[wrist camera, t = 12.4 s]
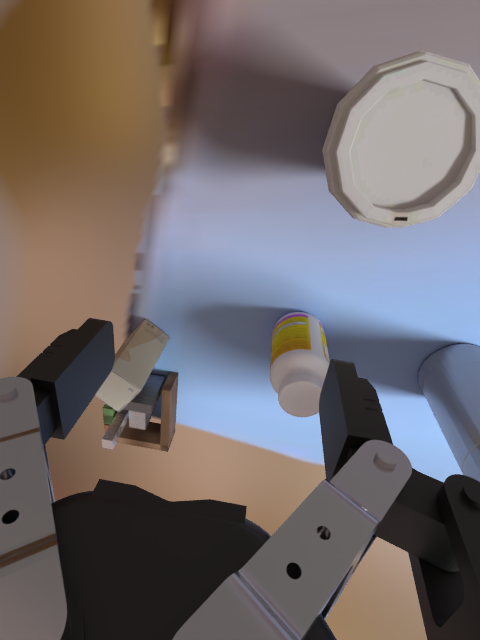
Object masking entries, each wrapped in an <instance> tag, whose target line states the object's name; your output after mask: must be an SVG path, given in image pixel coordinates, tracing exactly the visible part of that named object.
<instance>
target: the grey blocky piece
mask: <svg viewBox="0 0 480 640" xmlns="http://www.w3.org/2000/svg"><path fill="white" fill-rule="evenodd" d="M164 384H165V377H163V376H157V375H152V374H150V375H149V377H148V379H147V381H146V383H145V384H144V386H143V388H142V390H141V391H140V392H139V393H138V394H137V395H136V396H135V397H134V398H133V399H132V400H131V401H130V402H129V403H128V404H127V405H126V406H125V407H124V408H123V409H122V410H121V411H119V412H117V414H116V415H115V417H114V419H113V421H112V422H111V424H110V426H109V428H108V429H107V431H106V433H105V435H104V436H103V438H102V446H103V448H108V449H113V448H114V446H115V444H116V442H117V440H118V438H119V437H120V435H121V433H122V431H123V429H124V427H125V425H126V423H127V421H128V419H129V427H132V428H138V429H143V430H146V428H147V425H148V423H149V421H150V419H151V414H152V412H153V410H154V407H155V405H156V403H157V401H158V399H159V397H160V394H161V392H162V388H163V386H164Z"/></svg>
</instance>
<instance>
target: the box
mask: <svg viewBox="0 0 480 640" xmlns="http://www.w3.org/2000/svg"><path fill="white" fill-rule="evenodd" d="M168 340H169V336H167V335H166V334H165V333H164V332H163V331H161V330H160V329H159V328H157V327H156V326H155V325H153V324H152V323H151V322H149V321H148V320H147V319H144V320H143V321H142V322H141V323H140V325H139V326H138V327H137V328H136V329H135V330H134V331H133V332H132V333H131V335H130V336H129V337H128V338H127V339H126V340H125V342H124V343H123V345H122V346H121V347H120V349H119V350H118V352H117V353H116V354H115V360H114V365H113V368H112V371H111V373H110V374H109V376H108V377H107V378H106V380H105V381H104V383H103V384H102V386H101V387H100V389H99V390H98V391H97V393H96V394H95V396H96V397H98V398H99V399H100V400H102V401H103V402H105V403H106V404H107V405H109V406H110V407H112V408H113V409H115V410H116V411H118V412H119V411H121V410H122V409H123V408H124V407H125V406H126V405H127V404H128V403H129V402H130V401H131V400H132V399H133V398H134V397H135V396H136V395H137V394H138V393H139V392H140V391H141V390H142V388H143V386H144V384H145V383H146V381H147V379H148V377H149V375H150V373H151V371H152V370H153V368H154V366H155V364H156V362H157V360H158V358H159V357H160V355H161V353H162V351H163V349H164V347H165V345H166V343H167V341H168Z"/></svg>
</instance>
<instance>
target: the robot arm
mask: <svg viewBox="0 0 480 640" xmlns="http://www.w3.org/2000/svg"><path fill="white" fill-rule="evenodd" d="M114 360H115V351H114V334H113V325H112V322H110V321H105V320H99V319H92V318H89V319H88V320H87V321H86V322H85V323H84V324H83V325H82V326H81V327H80V328H79V329H78V330H76V329H72V330H70V331H67V332H66V333H63V334H61V335H59V336H58V337H57V338H56V339H55V340H54V341H53V342H52V343H51V344H50V346H48V347H47V348H46V349H45V350H44V351H43V353H41V354H40V355H39V356H38V357H36V359H34V360H33V361H32V362H31V363H30V364H29V365H28V366H27V367H26V368H25V369H24V370H23V371H22V372H21V373H20V374H19V375H18V376H17V377H7V378H2V379H0V640H336V638H335V636H334V635H333V633H332V631H331V630H330V628H329V626H328V625H327V623H326V621H325V619H326V617H327V616H328V614H329V613H330V611H331V609H332V608H333V606H334V605H335V603H336V601H337V600H338V598H339V596H340V594H341V593H342V591H343V590H344V588H345V586H346V585H347V583H348V581H349V580H350V578H351V577H352V575H353V573H354V572H355V570H356V569H357V567H358V565H359V564H360V562H361V561H362V559H363V558H364V556H365V554H366V553H367V551H368V550H369V548H370V547H371V545H372V543H373V542H374V540H375V539H376V537H379V538H381V539H383V540H385V541H387V542H389V543H391V544H393V545H395V546H397V547H399V548H401V549H403V550H405V551H407V552H408V553H409V558H410V562H411V567H412V571H413V576H414V580H415V585H416V590H417V594H418V599H419V603H420V608H421V612H422V617H423V622H424V626H425V631H426V635H427V640H480V347H479V346H476V345H471V344H456V345H451V346H448V347H444V348H442V349H440V350H438V351H436V352H434V353H433V354H432V355H430V356H429V357H428V358H427V359H426V360H425V361H424V363H423V364H422V366H421V367H420V370H419V373H418V381H419V385H420V387H421V389H422V391H423V393H424V395H425V397H426V399H427V401H428V403H429V406H430V408H431V410H432V412H433V414H434V416H435V418H436V420H437V422H438V424H439V426H440V428H441V430H442V432H443V434H444V436H445V438H446V441H447V443H448V445H449V447H450V449H451V451H452V453H453V455H454V457H455V459H456V461H457V463H458V465H459V467H460V469H461V471H462V473H463V475H459V474H455V475H451V476H449V477H448V478H447V479H446V480H445V482H444V483H443V482H441V481H438V480H436V479H434V478H432V477H429V476H427V475H425V474H422V473H420V472H418V471H416V470H415V469H413V468H412V466H411V463H410V461H409V459H408V458H407V456H406V455H405V454H404V453H403V452H402V451H401V450H400V449H399V448H397V447H396V446H394V445H393V443H392V440H391V436H390V433H389V430H388V427H387V424H386V421H385V418H384V415H383V412H382V408H381V405H380V403H379V399H378V396H377V393H376V390H375V389H374V387H373V386H372V385H371V384H370V383H369V382H368V380H367V379H363V378H358V377H357V373H356V369H355V365H354V363H352V362H346V361H340V360H334V359H332V360H331V361H330V364H329V367H328V370H327V373H326V377H325V380H324V383H323V387H322V390H321V393H320V399H319V415H320V424H321V434H322V443H323V453H324V462H325V471H326V479H325V480H323V481H322V482H321V483H320V484H319V485H318V486H317V487H316V488H315V489H314V490H313V492H312V493H311V494H310V495H309V496H308V497H307V498H306V499H305V500H304V501H303V502H302V504H301V505H300V506H299V507H298V508H297V509H296V510H295V511H294V512H293V513H292V514H291V516H290V517H289V518H288V519H287V520H286V521H285V522H284V523H283V524H282V525H281V526H280V527H279V528H278V530H277V531H276V532H275V533H274V534H273V535H272V536H270V535H269V534H268V533H267V532H266V531H265V530H263V529H262V528H261V527H260V526H258V525H256V524H255V523H253V522H252V521H249V520H248V519H246V518H245V517H246V506H242V505H237V504H232V503H227V502H221V501H216V500H210V499H209V500H193V501H177V502H170V501H167V500H165V499H162V498H160V497H158V496H156V495H154V494H152V493H150V492H147V491H146V490H143V489H141V488H139V487H137V486H135V485H129V484H124V483H118V482H113V481H107V480H102V479H99V481H98V483H97V485H96V487H95V489H94V491H88V492H82V493H77V494H74V495H70V496H68V497H65V498H62V499H60V500H58V501H56V502H55V498H54V493H53V487H52V481H51V475H50V470H49V464H48V458H47V452H46V447H45V444H46V443H47V441H48V440H49V439H50V437H53V438H58V439H65V438H66V436H67V435H68V433H69V432H70V431H71V429H72V428H73V426H74V425H75V423H76V422H77V420H78V419H79V418H80V416H81V415H82V413H83V412H84V410H85V409H86V407H87V406H88V404H89V403H90V402H91V400H92V399H93V397H94V396H95V394H96V393H97V391H98V390H99V389H100V387H101V386H102V384H103V383H104V381H105V380H106V378H107V377H108V376H109V374H110V373H111V371H112V368H113V365H114Z"/></svg>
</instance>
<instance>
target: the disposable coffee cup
mask: <svg viewBox="0 0 480 640" xmlns="http://www.w3.org/2000/svg"><path fill="white" fill-rule="evenodd" d="M322 152H323V158H324V164H325V170H326V176H327V182H328V188H329V192H330V193H331V194H332V195H333V196H334V197H335V198H336V200H337V201H338V202H339V203H340V204H341V205H342V206H343V208H344V209H345V210H346V211H347V212H348V213H349V214H350V215H351V217H352V218H353V219H357V220H360V221H363V222H367V223H371V224H374V225H378V226H382V227H385V228H401V227H405V226H409V225H413V224H417V223H421V222H426V221H430V220H433V219H436V218H438V217H439V216H440V215H442V214H443V213H444V212H445V211H446V210H448V209H449V208H450V207H451V206H452V205H454V204H455V203H456V202H457V201H458V200H460V199H461V198H462V197H463V196H464V195H466V194H467V193H468V192H469V191H470V190H471V188H472V186H473V184H474V182H475V180H476V178H477V176H478V174H479V172H480V80H479V79H478V77H477V76H476V74H475V73H474V71H473V69H472V68H471V66H470V65H469V64H466V63H463V62H460V61H456V60H453V59H450V58H446V57H443V56H440V55H436V54H433V53H430V52H426V51H418V52H415V53H412V54H409V55H406V56H403V57H400V58H397V59H394V60H391V61H388V62H385V63H382V64H379V65H376V66H373V67H372V68H371V69H370V70H369V71H368V72H367V73H366V75H365V76H364V77H363V78H362V79H361V80H360V81H359V82H358V83H357V84H356V85H355V86H354V87H353V88H352V89H351V90H350V91H349V92H348V93H347V94H346V95H345V97H344V98H343V99H342V100H341V101H340V102H339V103H338V104H337V106H336V109H335V112H334V116H333V119H332V122H331V125H330V128H329V131H328V134H327V137H326V140H325V143H324V146H323V149H322Z"/></svg>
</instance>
